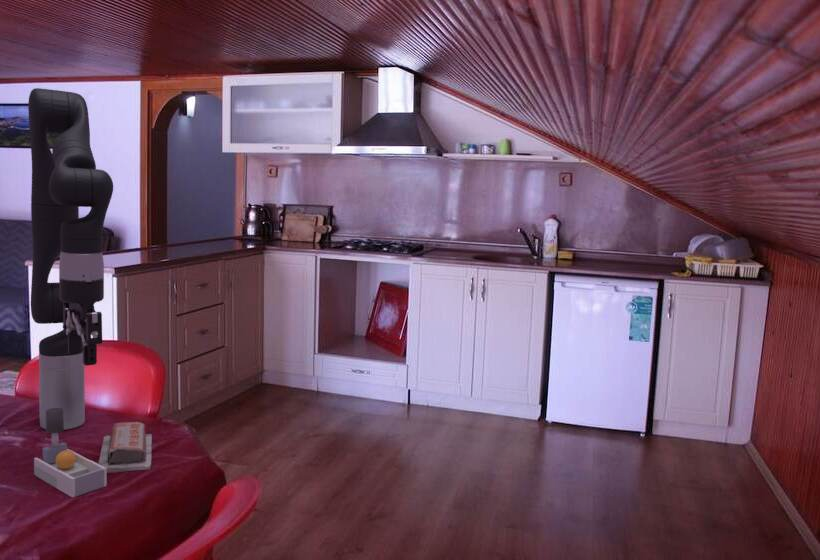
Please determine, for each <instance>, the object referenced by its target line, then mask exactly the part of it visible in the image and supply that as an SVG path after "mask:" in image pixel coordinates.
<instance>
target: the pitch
mask: <svg viewBox="0 0 820 560" xmlns="http://www.w3.org/2000/svg"><path fill="white" fill-rule="evenodd" d="M67 450H70V451H72V452H74V454H75V455H76V461H75V464H74V465H73V466H72V467H70V468H68V469H61V468H59V467H58V466H57V465H56V462H55V463H51V464H48V463H46V462H44V461H43V459H41V458H38V457H33V472H34V473H33V474H34V476H35V477H37V478H38V479H41V480H42V481H43V482H44V483H47V484H48V485H50V486H51V487H54V488H55V489H57V470H61V471H63V472H64V473H66V474H68V475H70V476H72V477H73V478H74V477H77V476H80V475H83V474H86V473H88V461H89V460H90V459H88V458H86V457H84V456H83V455H81V454H79V453H77V452H75V451H73V450H71V449H69V448H67Z"/></svg>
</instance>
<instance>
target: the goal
mask: <svg viewBox="0 0 820 560" xmlns="http://www.w3.org/2000/svg"><path fill="white" fill-rule="evenodd" d="M107 474H108V473H107V468H105V467H103V466H101V465H99V464H98V462H95V461H93V460H91V459H89V461H88V473H86V474H83V475H80V476H77V477H74V478H73V477H72V476H70V475H68V474H66V473H64V472H63V471H61V470H57V488H56V489H57V490H59V491H61V492H62V493H64V495H65V494H66V495H67V496H69V497H70V498H72V499H73V498H76V497H79V496H81V495H84V494H87V493H90V492H92V491H96V490H99V489H102V488H104V487H105V488H106V487H107V485H108V484H107V478H108V477H107V476H108V475H107Z"/></svg>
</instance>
